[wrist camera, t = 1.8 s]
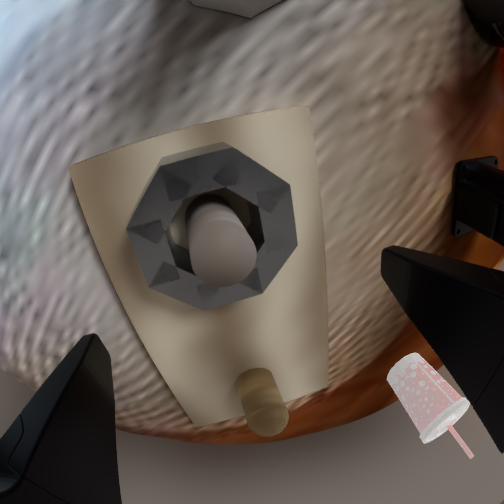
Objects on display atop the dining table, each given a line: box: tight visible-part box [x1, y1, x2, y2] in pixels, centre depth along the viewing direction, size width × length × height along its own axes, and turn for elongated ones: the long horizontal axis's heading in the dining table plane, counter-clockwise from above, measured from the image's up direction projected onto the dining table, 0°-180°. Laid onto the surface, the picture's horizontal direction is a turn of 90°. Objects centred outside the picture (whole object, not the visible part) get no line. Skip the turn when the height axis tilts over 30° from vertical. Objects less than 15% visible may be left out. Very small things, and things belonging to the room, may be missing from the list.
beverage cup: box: [387, 353, 474, 459], centre depth 23 cm, size 6×6×14 cm
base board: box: [68, 106, 329, 436], centre depth 16 cm, size 12×22×6 cm, turn 11°
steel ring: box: [126, 142, 298, 311], centre depth 14 cm, size 7×7×2 cm
